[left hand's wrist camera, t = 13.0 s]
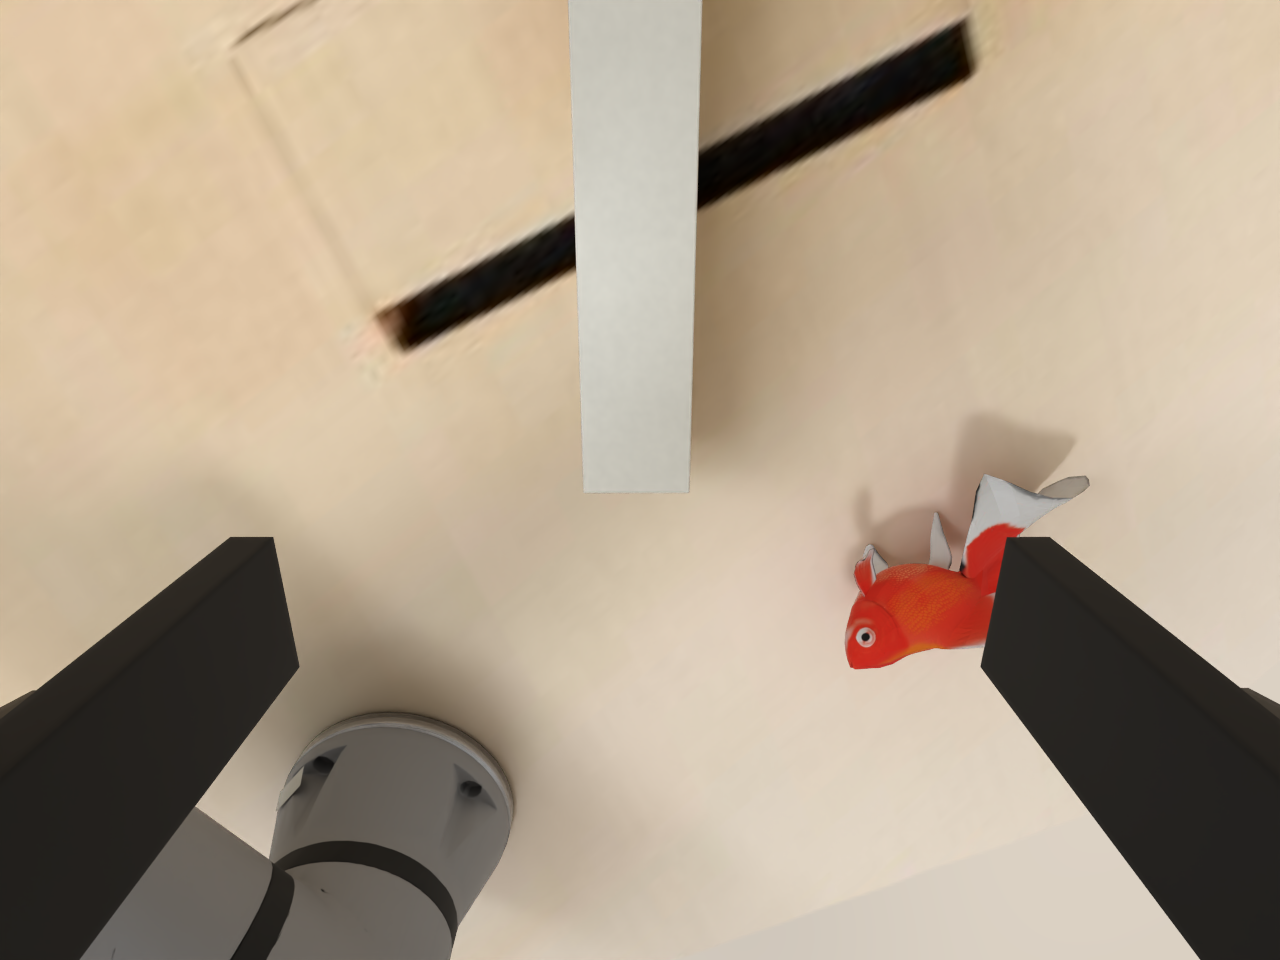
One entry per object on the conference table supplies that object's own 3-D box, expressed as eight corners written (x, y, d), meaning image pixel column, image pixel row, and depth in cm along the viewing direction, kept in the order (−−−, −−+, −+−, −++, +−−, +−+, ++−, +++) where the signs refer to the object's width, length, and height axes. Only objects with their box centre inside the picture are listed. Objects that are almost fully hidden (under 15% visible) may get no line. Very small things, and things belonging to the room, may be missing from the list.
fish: (783, 508, 36) (940, 632, 29) (997, 384, 41) (1179, 464, 33) (793, 638, 43) (923, 764, 36) (976, 519, 47) (1124, 610, 40)
